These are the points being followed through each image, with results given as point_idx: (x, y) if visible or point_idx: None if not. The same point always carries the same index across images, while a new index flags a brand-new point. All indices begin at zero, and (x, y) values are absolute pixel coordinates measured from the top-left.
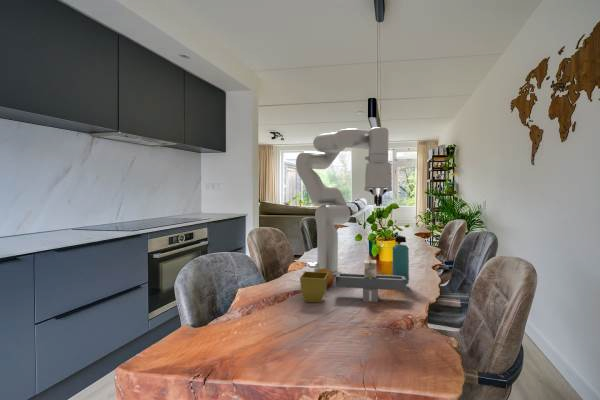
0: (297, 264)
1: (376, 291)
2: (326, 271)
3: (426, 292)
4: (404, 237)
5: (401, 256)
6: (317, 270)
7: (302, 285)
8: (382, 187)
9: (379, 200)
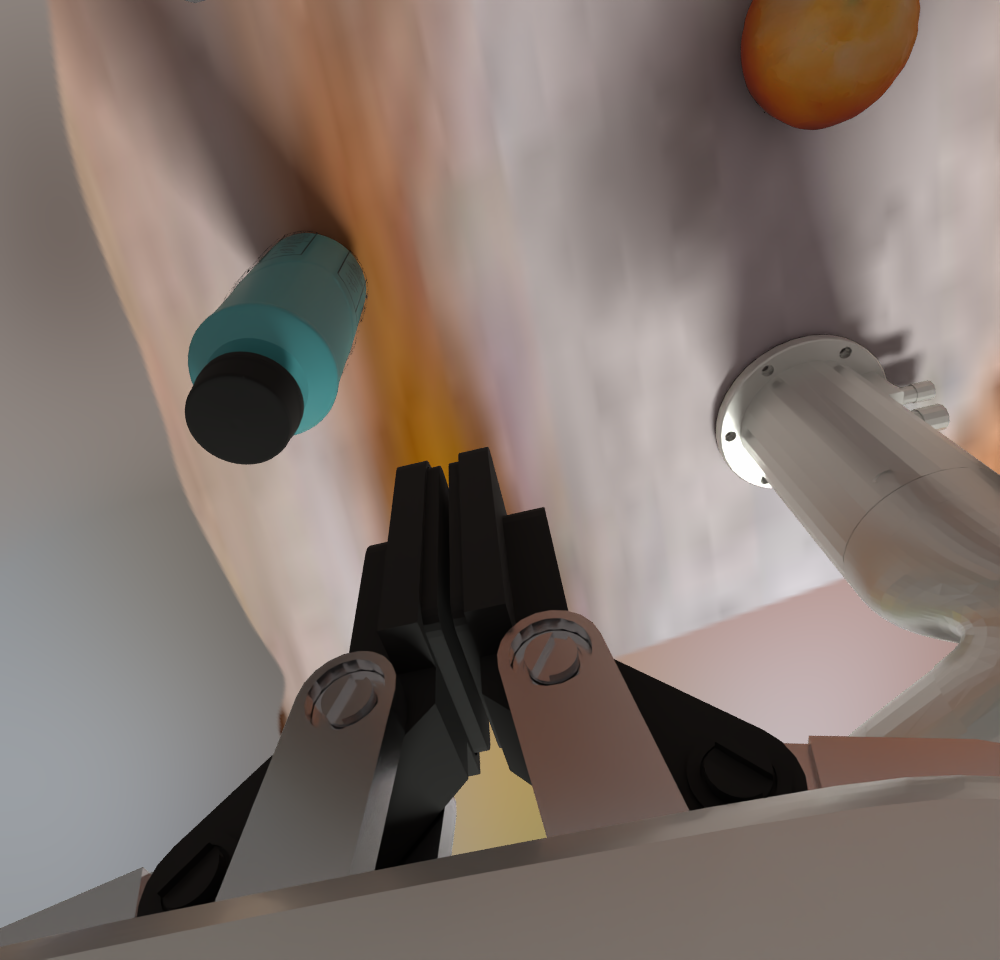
0: None
1: None
2: (832, 20)
3: (137, 206)
4: (187, 402)
5: (249, 288)
6: (908, 33)
7: None
8: (161, 923)
9: (405, 538)
